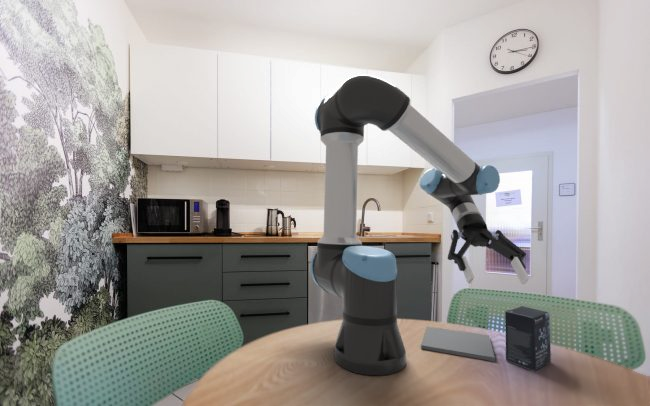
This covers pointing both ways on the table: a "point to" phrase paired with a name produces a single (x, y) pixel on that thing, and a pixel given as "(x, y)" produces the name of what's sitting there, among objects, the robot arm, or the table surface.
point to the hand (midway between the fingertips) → (498, 280)
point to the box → (527, 337)
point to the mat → (458, 343)
